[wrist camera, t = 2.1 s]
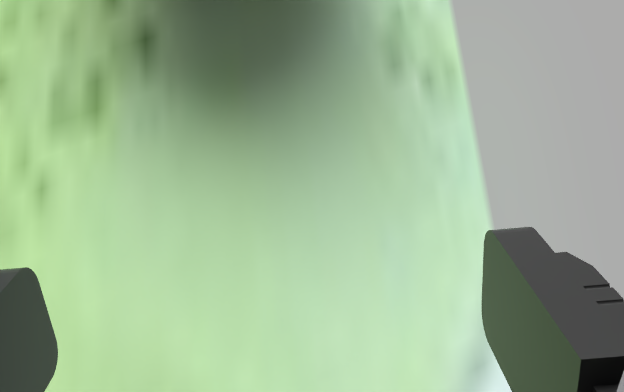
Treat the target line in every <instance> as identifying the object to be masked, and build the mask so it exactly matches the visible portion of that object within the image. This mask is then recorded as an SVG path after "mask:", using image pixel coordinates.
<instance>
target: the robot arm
mask: <svg viewBox="0 0 624 392" xmlns="http://www.w3.org/2000/svg"><path fill="white" fill-rule="evenodd" d="M482 319H483V326H484V330H485V334H486V338H487V340H488V343H489V345H490V347H491V349H492V351H493V353H494V355H495V357H496V359H497V361H498V364H499V366H500V368H501V370H502V372H503V374H504V376H505V378H506V380H507V382H508V384H509V386H510V388H511V390H512V392H624V300H623V298H622V297H621V296H620V295H619V294H618V293H617V291H616V290H615V289H614V288H610V286H609V283H608V282H607V281H606V280H605V279H604V278H603V277H602V275H601V274H599V272H598V271H597V270H596V269H595V268H594V267H593V266H592V265H590V264H588V263H586V262H584V261H582V260H581V259H579V258H576V257H575V256H573V255H571V254H569V253H567V252H560V253H554V251H553V250H552V249H551V248H550V247H549V245H548V244H547V243H546V242H545V241H544V239H543V238H542V237H541V236H540V235H539V234H538V232H537V231H536V230H535V229H534V228H532V227H524V228H511V229H500V230H489V231H487V233H486V235H485V240H484V257H483V283H482ZM57 358H58V348H57V341H56V337H55V334H54V331H53V327H52V324H51V321H50V317H49V314H48V311H47V308H46V304H45V301H44V298H43V294H42V291H41V288H40V284H39V281H38V279H37V276H36V274H35V273H34V272H33V271H32V270H31V269H29V268H15V269H3V270H0V392H44V391H45V389H46V388H47V386H48V384H49V382H50V381H51V379H52V377H53V375H54V372H55V369H56V365H57Z"/></svg>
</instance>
